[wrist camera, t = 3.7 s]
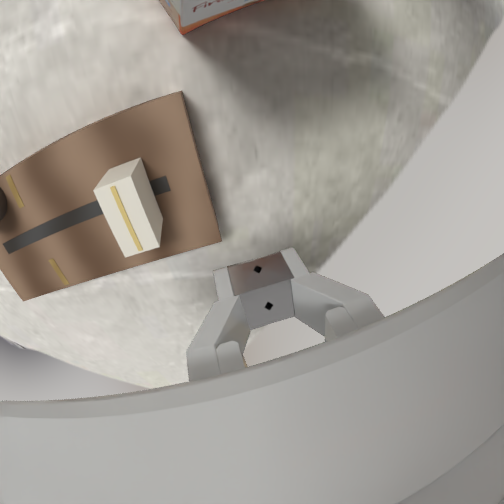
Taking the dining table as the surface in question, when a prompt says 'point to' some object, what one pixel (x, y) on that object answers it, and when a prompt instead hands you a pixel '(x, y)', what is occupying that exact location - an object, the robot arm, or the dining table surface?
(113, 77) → the dining table surface
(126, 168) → the fader tab
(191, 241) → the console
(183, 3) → the cracker box
